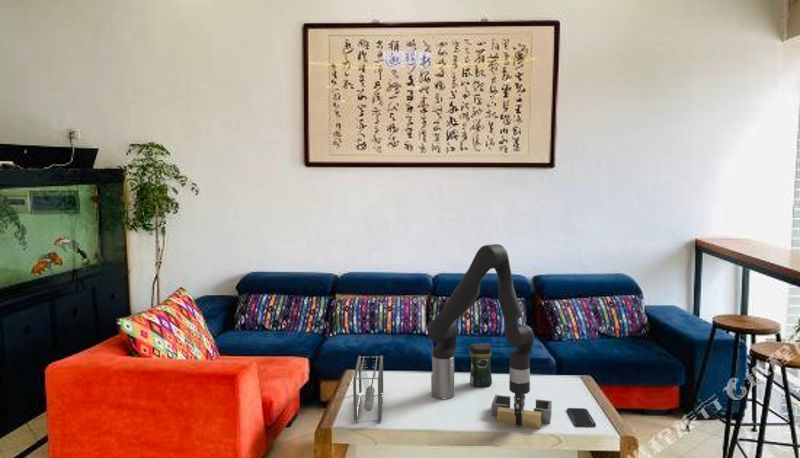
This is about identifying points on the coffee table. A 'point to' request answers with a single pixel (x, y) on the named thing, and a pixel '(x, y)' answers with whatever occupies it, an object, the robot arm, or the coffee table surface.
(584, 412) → the phone
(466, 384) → the coffee table surface
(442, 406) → the coffee table surface
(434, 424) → the coffee table surface
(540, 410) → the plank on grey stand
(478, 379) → the coffee jar
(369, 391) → the newton's cradle
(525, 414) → the link bar
